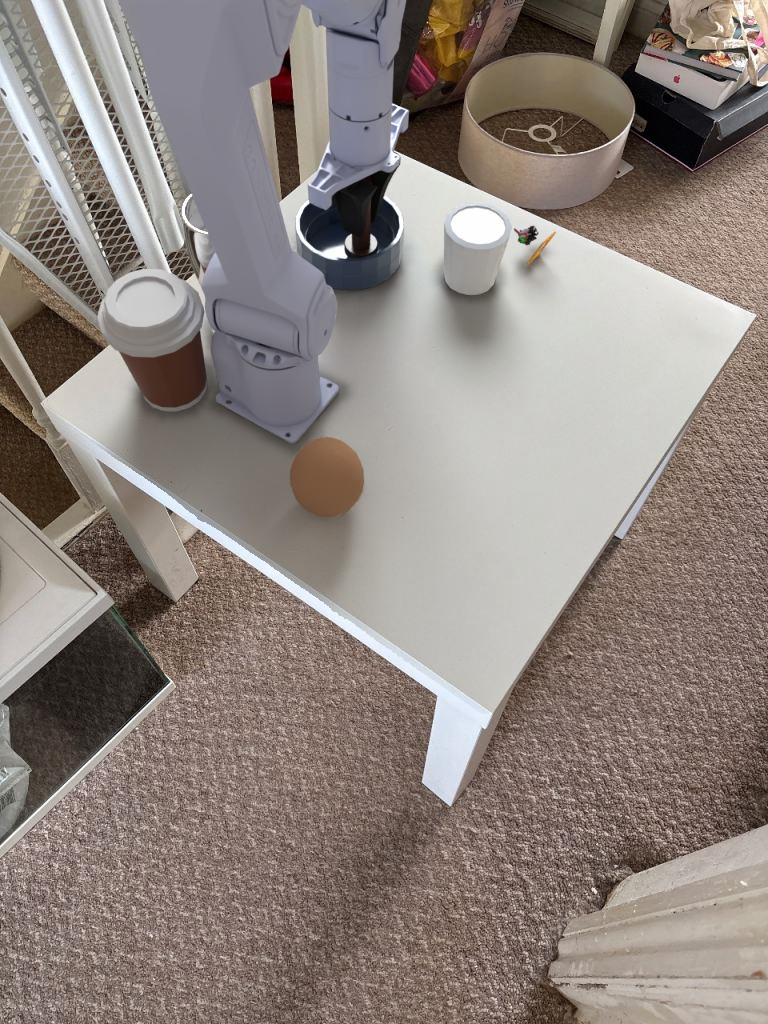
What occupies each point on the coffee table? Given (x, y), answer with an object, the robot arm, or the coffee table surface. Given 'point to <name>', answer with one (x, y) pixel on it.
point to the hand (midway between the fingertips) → (360, 224)
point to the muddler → (362, 238)
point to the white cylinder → (474, 246)
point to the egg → (326, 477)
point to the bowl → (325, 245)
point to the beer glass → (196, 239)
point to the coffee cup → (157, 336)
